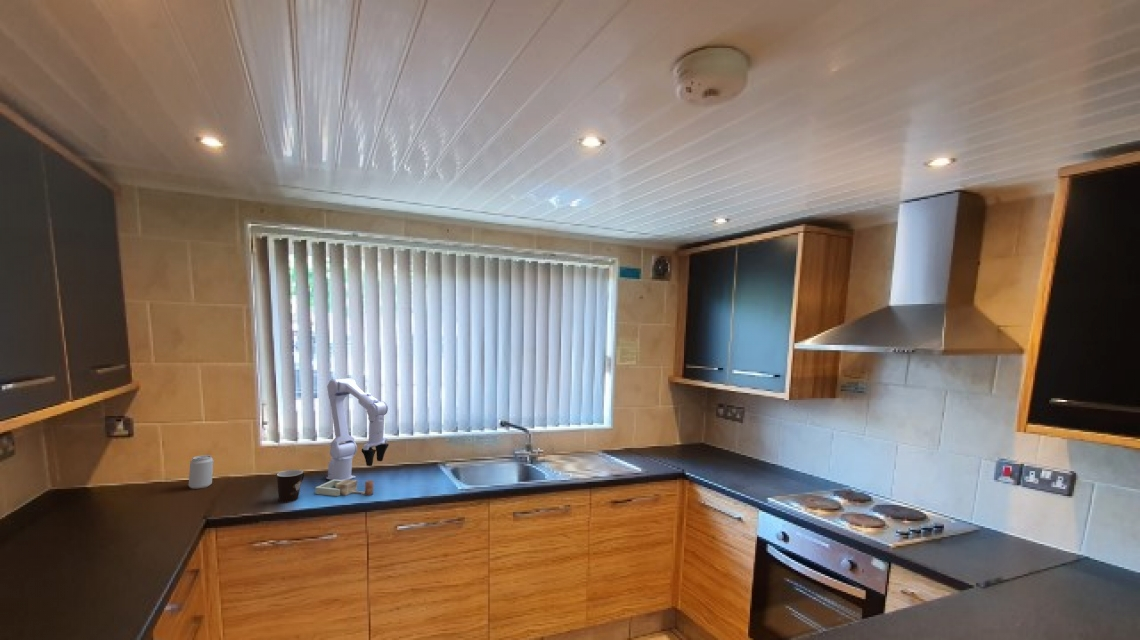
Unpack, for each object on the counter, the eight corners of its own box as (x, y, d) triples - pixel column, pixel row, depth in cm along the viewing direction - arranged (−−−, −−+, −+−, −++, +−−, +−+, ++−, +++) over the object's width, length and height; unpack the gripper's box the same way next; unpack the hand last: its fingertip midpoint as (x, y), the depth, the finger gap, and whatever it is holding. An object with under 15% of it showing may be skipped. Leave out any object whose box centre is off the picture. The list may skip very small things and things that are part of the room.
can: (184, 487, 187) (186, 457, 187) (204, 482, 194) (206, 453, 194) (195, 490, 184) (197, 460, 184) (216, 485, 191) (218, 455, 191)
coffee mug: (282, 505, 172) (284, 478, 173) (270, 500, 177) (272, 473, 177) (313, 496, 182) (315, 471, 183) (301, 492, 187) (303, 467, 187)
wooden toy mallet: (335, 494, 186) (335, 481, 186) (345, 488, 192) (345, 476, 193) (367, 497, 184) (368, 484, 184) (376, 491, 190) (377, 479, 191)
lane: (314, 493, 185) (315, 487, 186) (333, 485, 196) (333, 479, 196) (337, 496, 184) (338, 489, 184) (355, 487, 194) (355, 481, 195)
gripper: (375, 435, 189) (373, 468, 189) (394, 428, 203) (392, 459, 203) (359, 433, 190) (357, 467, 190) (379, 427, 205) (377, 458, 204)
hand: (374, 463), depth 196 cm, fingers open, 7 cm apart
